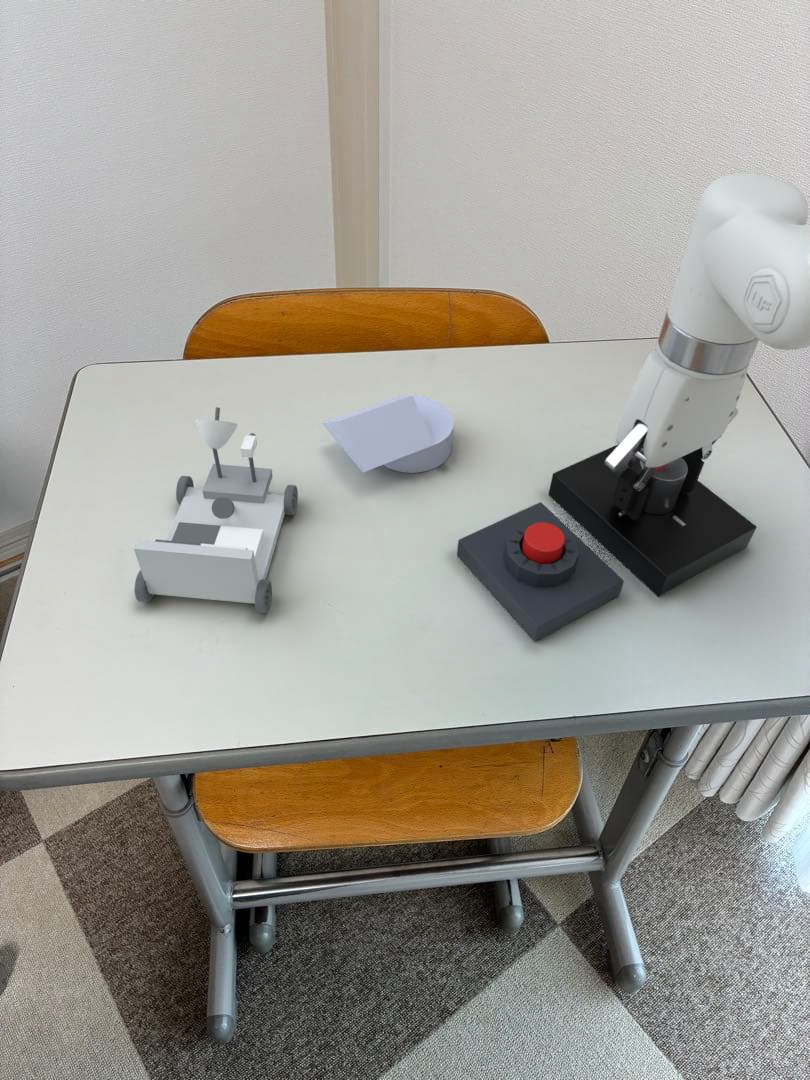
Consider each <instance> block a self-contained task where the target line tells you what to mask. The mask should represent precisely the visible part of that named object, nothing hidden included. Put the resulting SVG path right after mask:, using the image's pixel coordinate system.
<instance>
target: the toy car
mask: <svg viewBox="0 0 810 1080" xmlns="http://www.w3.org/2000/svg"><path fill="white" fill-rule="evenodd" d="M220 413H221V407H215V413H214V419H205V418H204V419H203V418H200V419H197V418H196V419H195V424H196V427H197V429H198V431H199V434H200V436H201V438H202V440H203V442H204V443H205V445H206V446H208V447H209V448H210V449H212V453H213V458H214V463H212V465H211V468H210V471H209V473H208V476H207V478H206V481H205V483H204V486H203V487H195V486H194V480H193V477H191V476H190V475H181V476H180V477H179V478H178V480H177V483H176V488H175V497H176V503H177V504H178V505H179V507H178V510H177V512H176V515H175V517H174V520H173V522H172V524H171V527H170V529H169V532H168V533H167V536H166V539H155V541H152V540H142V539H141V540H140V539H137V540H136V543H135V545H134V547H133V551H134V553H135V557H136V560H137V562H138V566H139V568H140V570H139V571H138V573H137V575H136V576H135V583H134V595H135V596H134V597H135V600H136V601H137V602H138V603H139V602H140V603H150V602H151V601H152V600H153V597H154V595H158V596H169V597H180V598H181V597H182V598H191V599H200V600H201V599H203V600H213V601H222V602H224V601H225V602H233V603H245V604H254V609H255V612H256V613H257V614H267V613H268V612H269V610H270V608H271V602H272V595H273V594H272V593H273V587H272V581H271V580H270V579H267V577H268V573H269V571H270V566H271V563H272V559H273V557H274V556H273V555H274V552H275V549H276V545H277V542H278V539H279V535H280V531H281V528H282V524H283V521H284V517H285V516H294V515H296V512H297V508H298V503H299V502H298V501H299V491H298V486H297V485H296V484H287V486H286V487H285V488H284V494H277V493H276V494H275V493H268V492H269V489H270V486H271V483H272V480H273V477H274V476H273V468H268V467H266V468H265V467H255V461H254V454H255V451H256V448H257V445H258V441H257V436H256V433H254V432H251V433H250V434H245V435H244V438H243V441H242V444H241V446H240V455H241V457H242V458H248V462H249V466H243V465H230V464H221V463H220V459H219V453H218V450H219V449H222V448H223V447H224V446H226V444H227V443H228V442H229V440H230V439H231V438H232V436H233V435H234V433H235V431H236V429H237V428H238V425H239V424H238V423H235V422H231V421H225V420H220Z"/></svg>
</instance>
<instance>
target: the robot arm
mask: <svg viewBox="0 0 810 1080" xmlns="http://www.w3.org/2000/svg"><path fill="white" fill-rule="evenodd" d="M696 207H697V208H696V211H695V214H694V216H693V217H694V218H693V221H692V224H691V227H690V231H689V235H688V238H687V242H686V245H685V248H684V253H683V255H682V259H681V262H680V264H679V265H680V266H679V269H678V271H677V275H676V278H675V282H674V286H673V287H672V288H673V289H672V292H671V296H670V299H669V302H668V306H667V308H666V312H665V314H664V319H663V321H662V325H661V329H660V332H659V335H658V339H657V343H656V348H655V349H654V350H652V351H650V353H649V355H648V356H647V358H646V360H645V362H644V363H643V365H642V366H641V369H640V371H639V373H638V375H637V377H636V379H635V382H634V384H633V386H632V389H631V391H630V394H629V396H628V399H627V402H626V403H625V407H624V409H623V413H622V416H621V418H620V421H619V425H618V428H617V431H616V436H615V442H616V444H617V445H618V444H619V445H618V446H617V447H616V448H615V450H614V451H613V452H612V453H611V454H610V455H609V456H608V457H607V458H606V460H605V462H604V464H605V465H606V466H607V467H608V468H609V469H610V470H612V471H613V472H614V473H615V474H616V475H618V476H619V479H618V483H617V486H616V489H615V493H614V496H613V502H614V504H616V505H617V506H618V507H619V508H620V509H621V510H622V511H623V512H625V513H626V514H627V515H628V516H629V517H630V518H631V519H633V520H635V519H637V518H639V517H640V514H641V511H642V508H643V506H644V503H645V500H646V497H647V494H648V491H649V489H648V487H647V486H646V484H647V482H648V481H649V479H650V478H651V476H652V475H653V473H654V472H655V470H656V469H657V467H660V466H662V465H665V464H667V463H669V462H672V461H674V460H676V459H678V458H680V457H681V458H683V459H684V461H685V462H686V464H687V466H688V471H687V474H686V477H685V479H684V482H683V485H682V487H681V489H682V490H683V491H684V492H686V493H690V492H692V491H693V490H694V488H695V485H696V483H697V480H698V481H699V478H700V475H701V474H702V473H701V472H702V470H703V467H704V465H705V463H706V462H705V460H707V459H709V457H710V456H711V455H712V453H713V445H714V444H715V443H716V442H718V440H719V439H720V438H722V436H723V435H724V433H725V431H726V430H727V428H728V426H729V424H730V423H731V422H732V421H733V420H734V419H735V418H736V416H737V415H738V414H739V409H738V408H737V406H738V402H739V400H740V397H741V394H742V391H743V387H744V384H745V381H746V378H747V374H748V370H749V366H750V364H751V360H752V359H753V356H754V354H755V351H756V349H757V346H758V344H759V342H761V343H763V344H764V345H767V346H768V347H770V348H773V349H776V350H783V351H794V350H795V351H797V350H800V349H805V348H808V347H810V224H806V223H807V221H808V217H809V204H808V200H807V198H806V196H805V194H804V193H803V192H802V190H800V189H799V188H798V187H797V186H795V185H794V184H792V183H790V182H788V181H786V180H783V179H781V178H778V177H774V176H771V175H767V174H763V173H754V172H753V173H751V172H750V173H749V172H740V173H739V172H738V173H731V174H727V175H724V176H722V177H719V178H716V179H715V180H713V181H712V182H711V183H709V185H708V186H707V187H706V188H705V190H704V191H703V193H702V195H701V197H700V199H699V202H698V205H697V206H696ZM642 447H643V448H644V449H642ZM637 458H638V459H639V460H641V461H642V462H643V463H644V464H645V466H644V468H643V469H642V471H641V473H640V474H639V475H638V474H637V473H636V472H635V471H634V470H632V469H631V467H632V466H633V464H634V463H635V461H636V459H637Z"/></svg>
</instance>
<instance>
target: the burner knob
mask: <svg viewBox="0 0 810 1080" xmlns="http://www.w3.org/2000/svg"><path fill="white" fill-rule="evenodd" d="M644 466H645V464H644V463H643V462H642V461H641V460H640V462H639V465H638V469H637V472H636V473H637V474H638V475H639V474H640V473H641V471H642V469H643V468H644ZM687 471H688V466H687V464H686V462H685V461H684V459H683V458H681V457H680V458H678V459H676V460H674V461H672V462H669V463H667V464H665V465H662V466H660V467H657V469H656V470H655V472H654V473H653V475H652V476H651V478H650V479H649V481H648V482H647V484H646V486H647V487H648V489H649V491H648V494H647V497H646V500H645V503H644V506H643V508H642V511H644V512H646V513H650V514H665V513H667V512H669V511H671V510H672V509H673V508H674V506H675V503H676V501H677V498H678V495H679V493H680V490H681V487H682V485H683V482H684V479H685V477H686V474H687Z"/></svg>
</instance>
